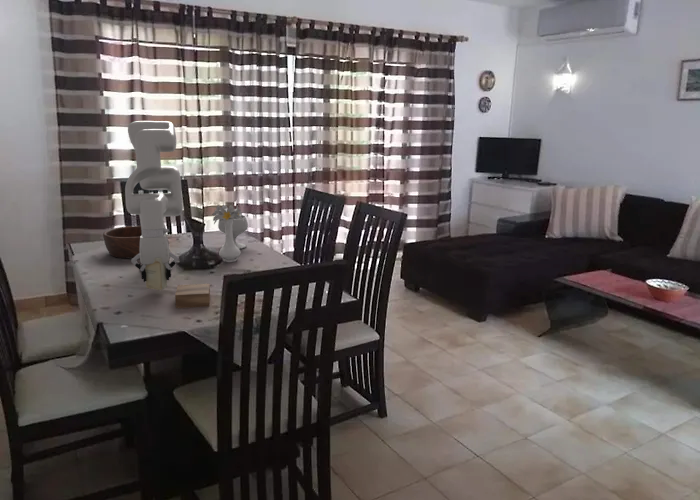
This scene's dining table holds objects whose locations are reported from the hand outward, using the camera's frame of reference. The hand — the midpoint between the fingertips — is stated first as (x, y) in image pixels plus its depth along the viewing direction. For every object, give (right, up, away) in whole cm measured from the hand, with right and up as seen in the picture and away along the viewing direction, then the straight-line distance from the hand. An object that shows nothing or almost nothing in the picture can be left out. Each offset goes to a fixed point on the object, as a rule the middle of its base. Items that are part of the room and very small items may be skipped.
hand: (156, 279), depth 201 cm
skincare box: (0, -3, +1) cm, 3 cm away
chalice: (+14, +12, +68) cm, 70 cm away
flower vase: (+16, +6, +45) cm, 49 cm away
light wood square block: (+15, -8, -7) cm, 18 cm away
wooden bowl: (-29, +9, +54) cm, 62 cm away
